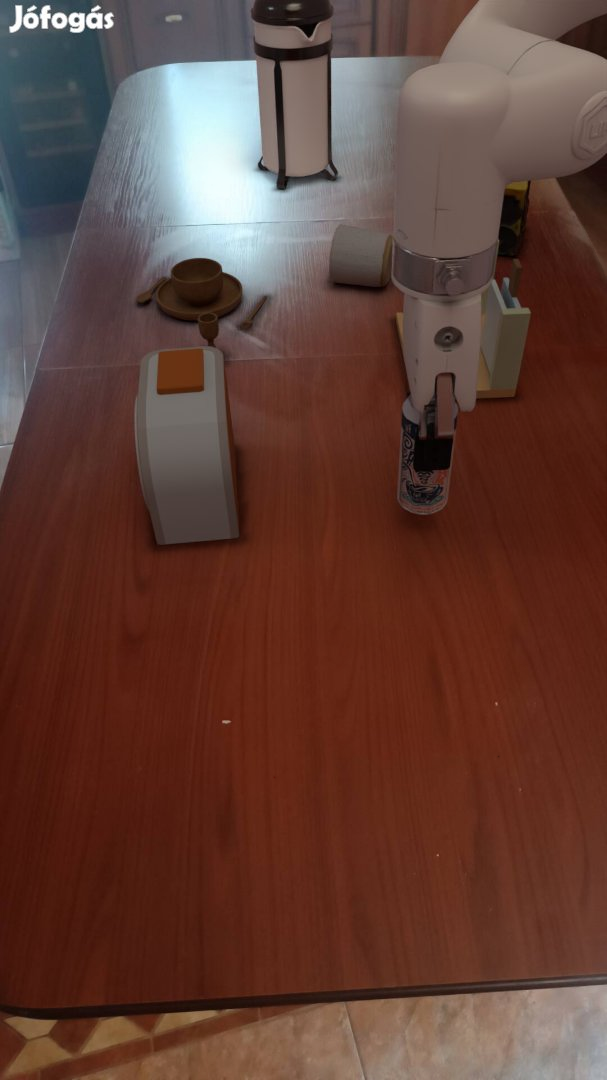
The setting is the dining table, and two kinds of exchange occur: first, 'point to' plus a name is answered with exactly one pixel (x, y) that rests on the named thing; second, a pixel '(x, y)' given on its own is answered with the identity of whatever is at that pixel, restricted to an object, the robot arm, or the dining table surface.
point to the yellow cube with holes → (513, 217)
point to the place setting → (199, 295)
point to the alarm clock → (186, 445)
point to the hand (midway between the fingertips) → (426, 446)
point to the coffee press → (294, 86)
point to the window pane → (512, 286)
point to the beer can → (420, 487)
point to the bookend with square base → (496, 343)
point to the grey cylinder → (360, 257)
